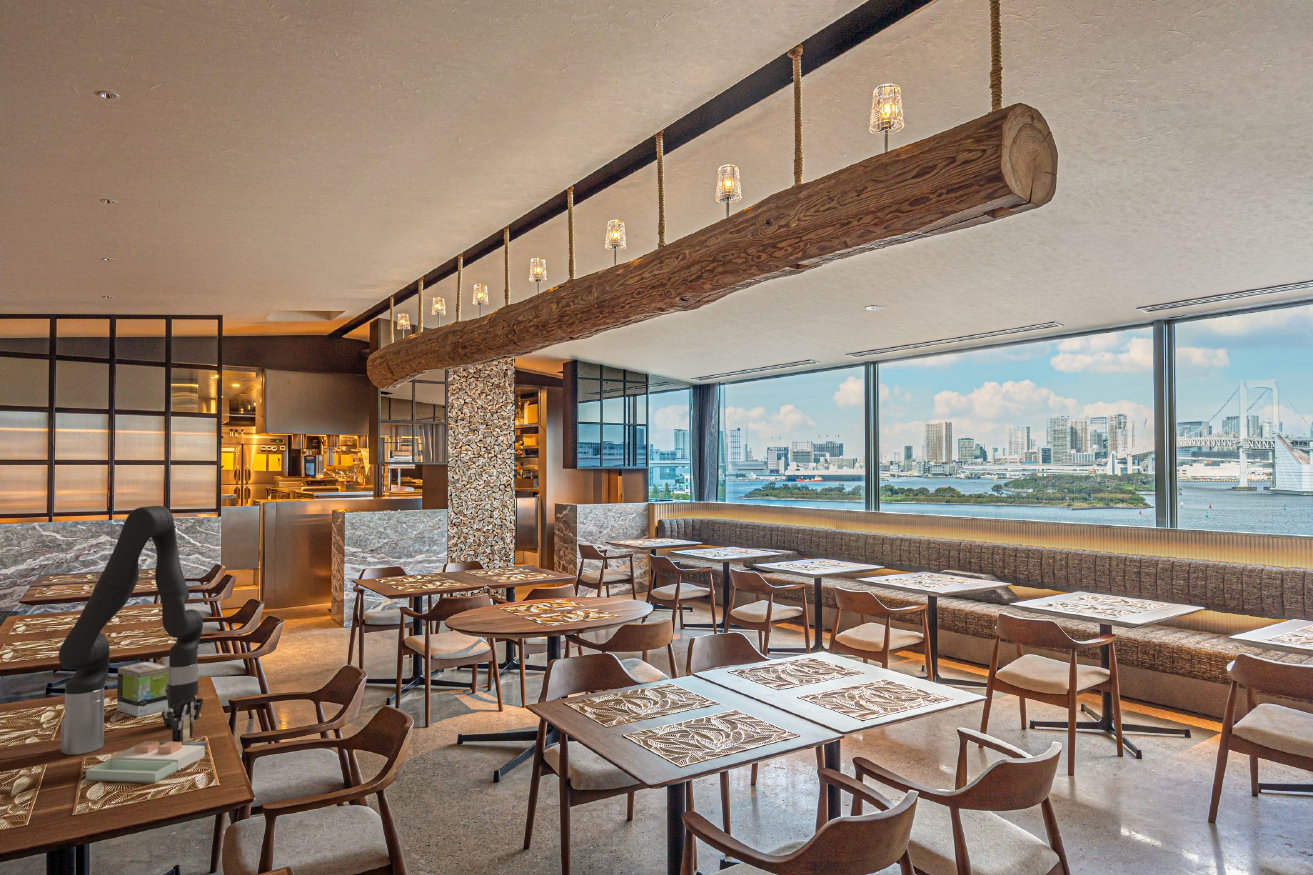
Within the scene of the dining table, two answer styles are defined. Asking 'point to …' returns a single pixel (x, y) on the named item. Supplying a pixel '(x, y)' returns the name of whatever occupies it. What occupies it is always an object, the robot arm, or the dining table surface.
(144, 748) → the tile
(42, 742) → the dining table surface
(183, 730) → the scraper
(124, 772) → the tray
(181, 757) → the stone plate
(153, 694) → the tea box
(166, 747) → the tile
